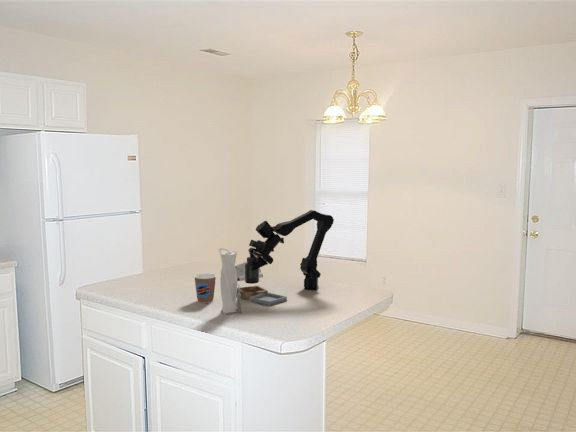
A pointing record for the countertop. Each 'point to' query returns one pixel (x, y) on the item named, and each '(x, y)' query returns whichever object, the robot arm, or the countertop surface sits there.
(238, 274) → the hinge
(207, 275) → the coffee cup
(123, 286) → the countertop surface
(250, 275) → the supplement bottle
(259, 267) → the robot arm
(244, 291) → the slot holder
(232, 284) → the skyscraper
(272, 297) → the tray
